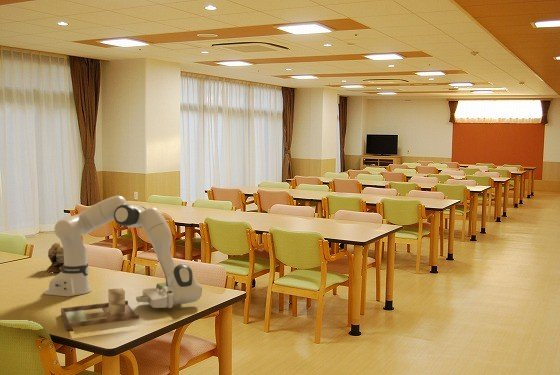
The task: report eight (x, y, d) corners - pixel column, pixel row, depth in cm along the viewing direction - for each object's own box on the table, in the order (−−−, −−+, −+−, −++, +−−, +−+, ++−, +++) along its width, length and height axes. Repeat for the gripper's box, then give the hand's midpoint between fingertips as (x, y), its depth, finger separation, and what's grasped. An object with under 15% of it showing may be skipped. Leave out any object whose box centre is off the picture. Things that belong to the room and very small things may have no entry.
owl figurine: (75, 272, 334) (74, 243, 332) (55, 275, 325) (54, 245, 324) (62, 266, 346) (61, 238, 345) (42, 269, 338) (41, 241, 336)
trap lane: (127, 306, 267) (127, 300, 266) (138, 321, 245) (138, 314, 245) (61, 314, 254) (61, 308, 254) (67, 331, 232) (66, 324, 232)
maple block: (122, 309, 257) (122, 288, 256) (125, 313, 251) (124, 291, 250) (108, 311, 254) (108, 289, 253) (111, 315, 249) (110, 292, 248)
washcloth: (169, 296, 285) (169, 290, 285) (154, 288, 300) (154, 282, 299) (192, 292, 293) (192, 286, 293) (177, 285, 307) (177, 279, 307)
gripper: (161, 283, 271) (131, 286, 265) (173, 294, 253) (141, 298, 247) (161, 296, 272) (131, 300, 266) (173, 308, 254) (141, 312, 247)
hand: (136, 299), depth 256 cm, fingers closed
